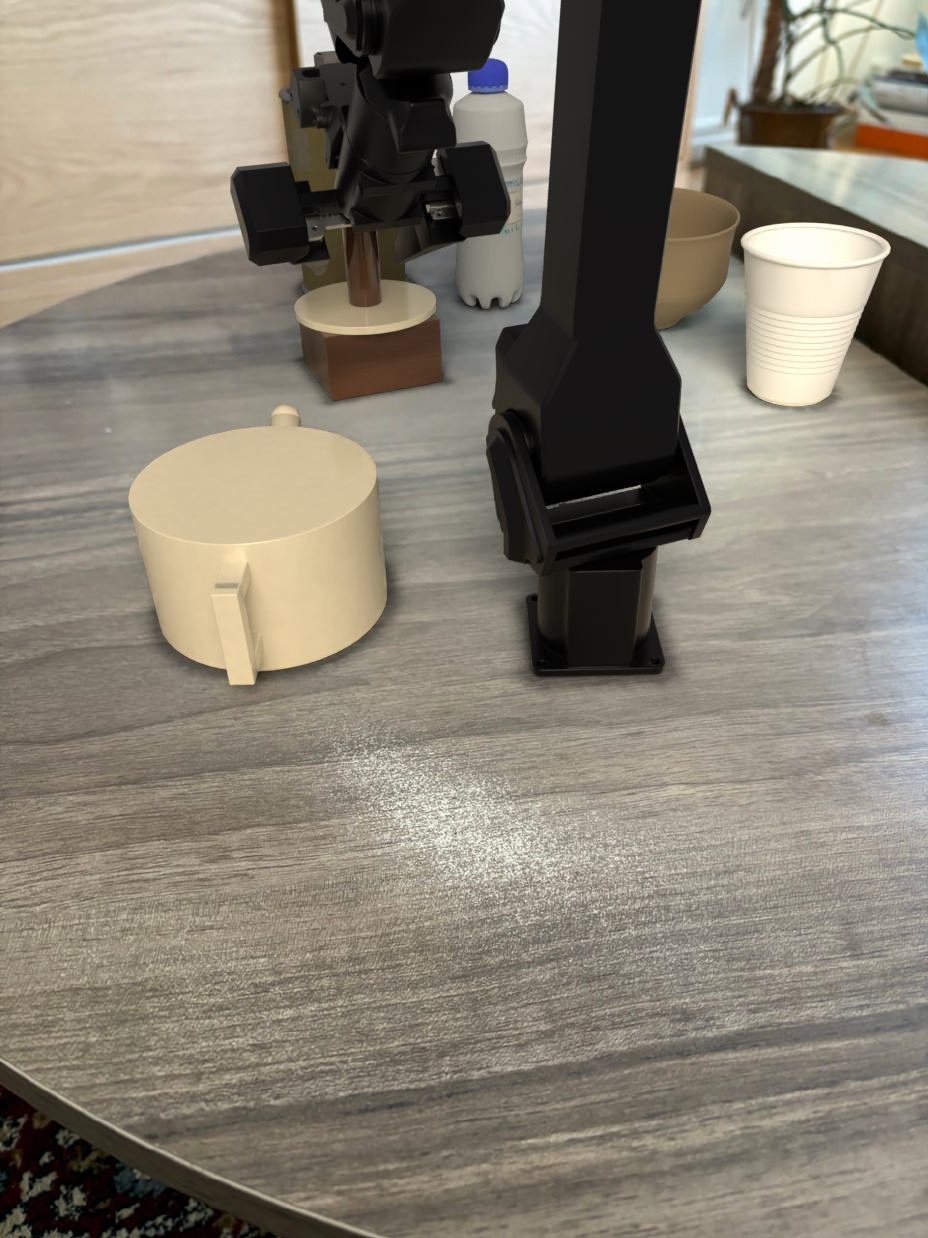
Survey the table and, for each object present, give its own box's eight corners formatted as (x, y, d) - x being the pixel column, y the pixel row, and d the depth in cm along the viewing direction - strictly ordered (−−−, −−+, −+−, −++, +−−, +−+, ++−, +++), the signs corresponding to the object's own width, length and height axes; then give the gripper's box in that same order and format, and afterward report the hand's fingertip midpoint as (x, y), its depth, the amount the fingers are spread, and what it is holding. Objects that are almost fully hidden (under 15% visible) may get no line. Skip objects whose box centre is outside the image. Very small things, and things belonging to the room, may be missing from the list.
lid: (435, 333, 73) (431, 240, 69) (285, 336, 73) (273, 244, 69) (438, 284, 82) (434, 200, 78) (304, 288, 82) (294, 203, 78)
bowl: (612, 359, 81) (620, 232, 75) (558, 308, 91) (562, 192, 85) (751, 340, 84) (770, 216, 78) (685, 293, 94) (697, 179, 88)
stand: (442, 381, 78) (440, 319, 75) (331, 401, 76) (324, 337, 73) (406, 343, 85) (402, 284, 82) (303, 360, 83) (296, 300, 80)
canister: (288, 279, 100) (259, 51, 88) (385, 264, 103) (370, 42, 91) (323, 312, 92) (296, 66, 80) (426, 294, 95) (416, 55, 83)
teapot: (376, 705, 47) (362, 574, 43) (117, 710, 48) (77, 580, 43) (397, 499, 63) (389, 389, 59) (203, 504, 63) (180, 393, 59)
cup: (704, 404, 74) (723, 252, 67) (740, 358, 81) (761, 216, 74) (842, 429, 70) (877, 270, 63) (868, 378, 77) (901, 230, 70)
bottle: (520, 314, 90) (522, 63, 78) (447, 311, 91) (438, 63, 79) (531, 290, 95) (534, 51, 83) (462, 287, 96) (456, 51, 84)
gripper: (494, 8, 65) (443, 157, 80) (209, 27, 60) (210, 182, 75) (542, 161, 64) (480, 283, 79) (255, 194, 59) (247, 318, 74)
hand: (357, 264), depth 77 cm, fingers open, 6 cm apart
